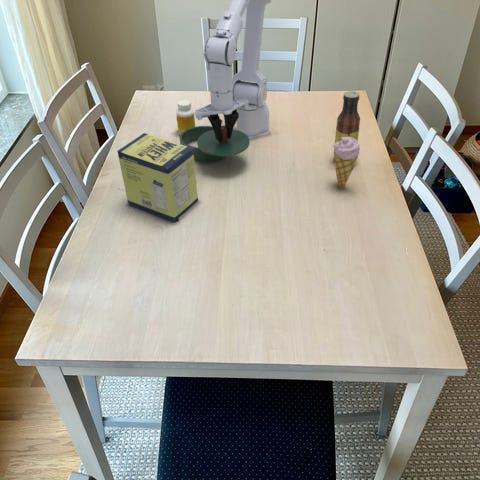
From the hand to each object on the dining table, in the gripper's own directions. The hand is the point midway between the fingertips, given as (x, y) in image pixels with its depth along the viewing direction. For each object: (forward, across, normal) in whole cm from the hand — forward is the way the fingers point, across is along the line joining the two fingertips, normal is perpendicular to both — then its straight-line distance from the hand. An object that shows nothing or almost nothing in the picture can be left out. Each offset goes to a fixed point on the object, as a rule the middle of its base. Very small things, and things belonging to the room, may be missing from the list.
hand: (223, 138), depth 135 cm
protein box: (+9, -22, -9) cm, 25 cm away
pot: (+8, -2, +10) cm, 13 cm away
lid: (+1, 0, 0) cm, 1 cm away
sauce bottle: (+9, +31, -14) cm, 35 cm away
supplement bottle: (+9, -2, +23) cm, 25 cm away
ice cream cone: (+9, +23, -24) cm, 35 cm away
